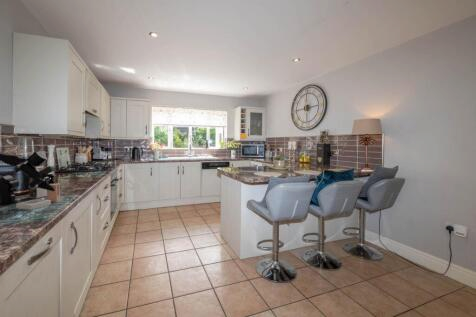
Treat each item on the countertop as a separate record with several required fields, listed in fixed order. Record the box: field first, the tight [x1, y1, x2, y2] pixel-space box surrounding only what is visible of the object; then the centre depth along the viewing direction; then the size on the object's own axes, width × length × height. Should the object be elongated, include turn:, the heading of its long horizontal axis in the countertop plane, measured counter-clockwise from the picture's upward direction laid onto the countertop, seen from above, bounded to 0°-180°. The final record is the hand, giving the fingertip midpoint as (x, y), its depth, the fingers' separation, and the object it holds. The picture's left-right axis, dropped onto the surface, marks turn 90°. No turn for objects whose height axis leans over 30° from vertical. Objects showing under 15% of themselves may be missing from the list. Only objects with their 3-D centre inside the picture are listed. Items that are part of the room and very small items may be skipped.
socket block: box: [15, 198, 52, 211], centre depth 122 cm, size 10×10×2 cm
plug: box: [46, 182, 61, 203], centre depth 133 cm, size 5×4×10 cm
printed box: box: [28, 178, 47, 199], centre depth 143 cm, size 7×7×12 cm
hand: (56, 189), depth 133 cm, fingers closed on plug, 4 cm apart
